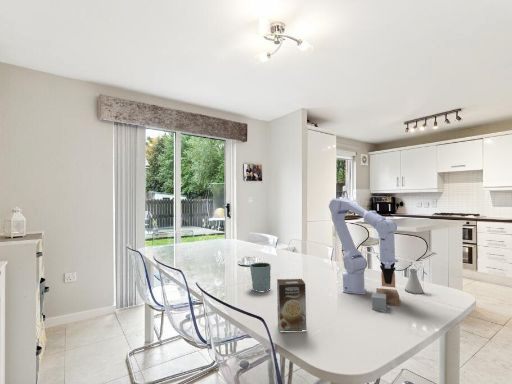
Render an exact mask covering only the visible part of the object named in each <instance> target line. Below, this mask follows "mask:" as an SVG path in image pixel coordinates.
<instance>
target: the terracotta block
mask: <svg viewBox="0 0 512 384" xmlns="http://www.w3.org/2000/svg"><path fill="white" fill-rule="evenodd" d="M380 275H381V287H387V288H396V273H395V271H394V273H393V276H392V282H391V284H386V283H385V280H384V275H383V272H382V271H381V273H380Z"/></svg>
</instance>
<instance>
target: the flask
mask: <svg viewBox="0 0 512 384" xmlns="http://www.w3.org/2000/svg"><path fill="white" fill-rule="evenodd" d="M408 271H409V277H408V280H407V283H406V285H405V288H404V291H405V292H407V293H411V294H413V295H414V294H415V295H417V294H418V295H419V294H422V293H424V292H425V291H424V289H423V287H422V284H421V282H420V280H419V277H418V269H416V268H408Z"/></svg>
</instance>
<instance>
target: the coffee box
mask: <svg viewBox="0 0 512 384" xmlns="http://www.w3.org/2000/svg"><path fill="white" fill-rule="evenodd" d="M276 289H277V290H276V292H277V294H276V297H277V300H276V301H277V327H278V326H279V327H278V330H279V329H280V331H302V330H307V302H306V301H307V298H306V297H307V296H306V282H305V281H304V280H303V278H284V279H283V278H281V279H278V278H277V279H276ZM280 331H279V332H280Z"/></svg>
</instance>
